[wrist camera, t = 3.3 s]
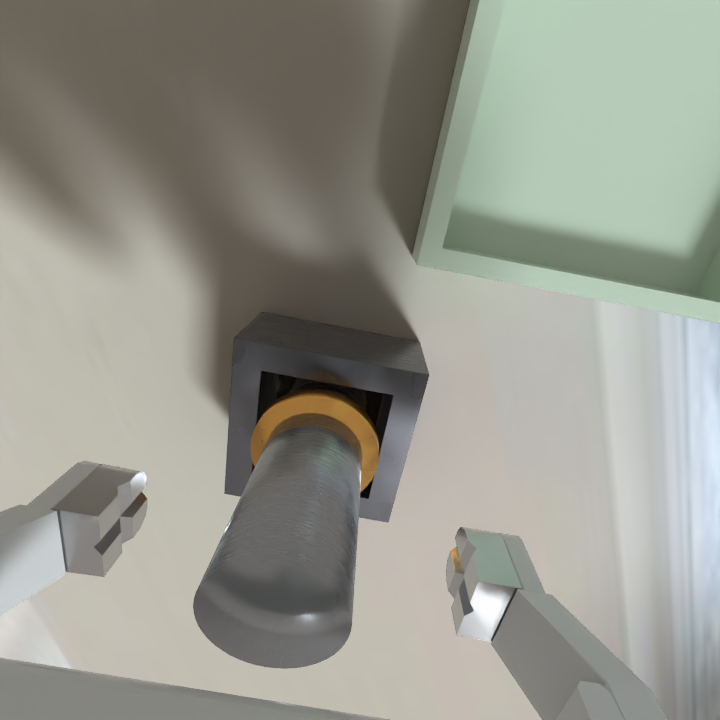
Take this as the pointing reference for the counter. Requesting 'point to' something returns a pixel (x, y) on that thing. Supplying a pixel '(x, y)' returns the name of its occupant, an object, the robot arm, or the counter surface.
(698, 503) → the counter surface
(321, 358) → the socket block
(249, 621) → the pin
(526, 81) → the tray
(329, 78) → the counter surface
